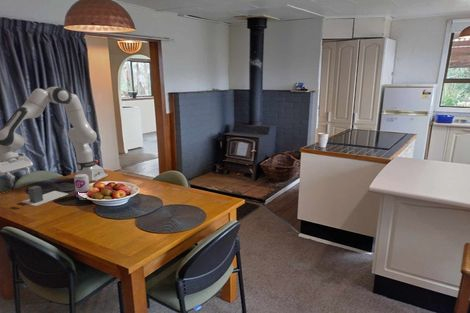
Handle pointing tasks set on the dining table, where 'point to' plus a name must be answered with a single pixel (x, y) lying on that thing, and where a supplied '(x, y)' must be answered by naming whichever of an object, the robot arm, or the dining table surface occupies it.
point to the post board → (47, 197)
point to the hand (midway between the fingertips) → (21, 176)
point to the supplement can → (81, 184)
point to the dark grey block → (35, 194)
